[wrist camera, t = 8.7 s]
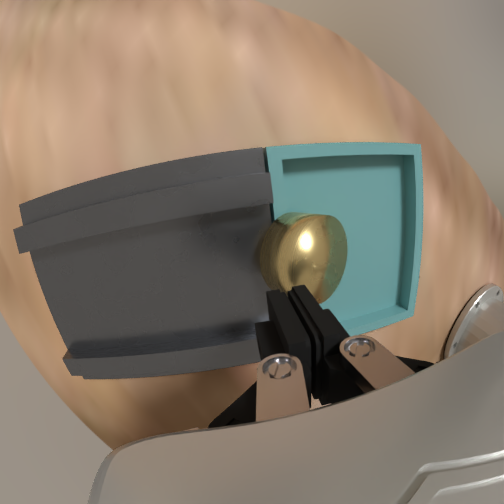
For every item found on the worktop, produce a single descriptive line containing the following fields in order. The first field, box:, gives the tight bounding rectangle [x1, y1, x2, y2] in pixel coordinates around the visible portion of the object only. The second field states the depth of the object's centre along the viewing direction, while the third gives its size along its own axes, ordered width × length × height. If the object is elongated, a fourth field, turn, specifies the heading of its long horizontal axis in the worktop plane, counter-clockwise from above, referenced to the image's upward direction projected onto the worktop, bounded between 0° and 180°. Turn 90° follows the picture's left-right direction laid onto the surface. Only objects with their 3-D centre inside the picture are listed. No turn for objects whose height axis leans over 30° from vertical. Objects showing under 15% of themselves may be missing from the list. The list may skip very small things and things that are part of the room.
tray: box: [263, 142, 423, 337], centre depth 18 cm, size 12×14×2 cm
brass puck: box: [260, 212, 348, 304], centre depth 16 cm, size 5×5×2 cm
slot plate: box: [13, 147, 274, 379], centre depth 16 cm, size 16×14×3 cm
